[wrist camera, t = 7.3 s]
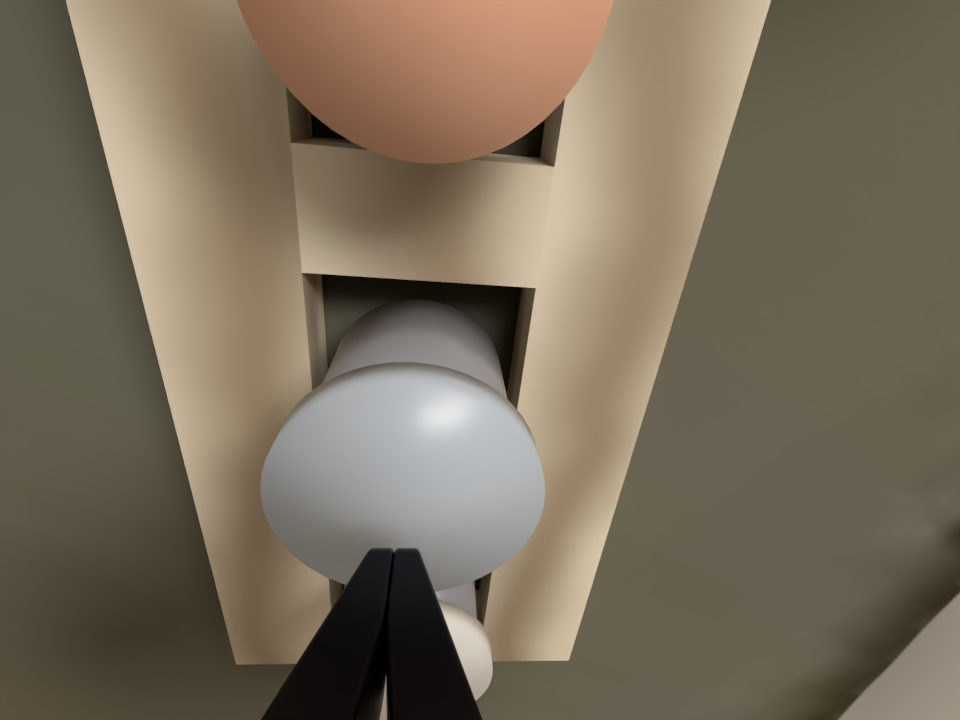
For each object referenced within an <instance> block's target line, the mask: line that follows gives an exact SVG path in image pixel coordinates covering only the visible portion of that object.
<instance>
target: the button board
mask: <svg viewBox="0 0 960 720" xmlns="http://www.w3.org/2000/svg"><path fill="white" fill-rule="evenodd" d="M770 2H771V0H614V2H613V6H612V9H611V12H610V15H609V18H608V21H607V24H606V26H605V29H604V32H603V35H602V37H601V39H600V41H599V43H598V45H597V48H596V50H595V52H594V54H593V56H592V58H591V60H590V62H589V64H588V65H587V67H586V68H585V70H584V72H583V73H582V75H581V77H580V78H579V80H578V82H577V83H576V84H575V86H574V87H573V88H572V90H571V91H570V92H569V93H568V95H567V96H566V97H565V99H564V100H563V101H562V102H561V104H560V105H559V106H558V107H557V108H556V109H555V110H554V111H553V112H552V113H551V114H550V115H549V116H548V117H547V118H546V119H545V124H544V131H543V139H542V146H541V153H540V158H537V157H526V156H516V155H505V154H494V153H490V154H487V155H485V156H481V157H477V158H474V159H470V160H466V161H461V162H452V163H444V164H429V163H415V162H409V161H402V160H397V159H394V158H390V157H387V156H384V155H380V154H377V153H374V152H372V151H370V150H368V149H366V148H363V147H361V146H359V145H357V144H354V143H353V142H351V141H349V140H344V139H334V138H323V137H312V124H311V112H310V111H309V110H308V109H307V108H306V107H305V106H304V105H303V104H302V103H301V102H300V101H299V100H298V99H297V98H296V97H295V96H293V94H292V93H291V92H290V91H289V89H288V88H287V87H286V86H285V85H284V83H283V82H282V81H281V80H280V78H279V77H278V76H277V75H276V73H275V72H274V70H273V69H272V67H271V66H270V64H269V63H268V61H267V60H266V58H265V57H264V55H263V54H262V52H261V51H260V49H259V47H258V45H257V44H256V42H255V40H254V38H253V36H252V34H251V32H250V30H249V28H248V26H247V24H246V22H245V20H244V18H243V15H242V13H241V10H240V8H239V5H238V3H237V0H66V3H67V7H68V11H69V15H70V19H71V23H72V27H73V31H74V35H75V38H76V42H77V46H78V50H79V54H80V58H81V62H82V66H83V70H84V74H85V77H86V81H87V85H88V89H89V93H90V97H91V101H92V105H93V109H94V113H95V116H96V120H97V124H98V128H99V132H100V136H101V140H102V144H103V148H104V152H105V155H106V159H107V163H108V167H109V171H110V175H111V179H112V183H113V187H114V191H115V194H116V198H117V202H118V206H119V210H120V214H121V218H122V222H123V226H124V230H125V233H126V237H127V241H128V245H129V249H130V253H131V257H132V261H133V265H134V269H135V272H136V276H137V280H138V284H139V288H140V292H141V296H142V300H143V304H144V308H145V311H146V315H147V319H148V323H149V327H150V331H151V335H152V339H153V343H154V347H155V350H156V354H157V358H158V362H159V366H160V370H161V374H162V378H163V382H164V386H165V389H166V393H167V397H168V401H169V405H170V409H171V413H172V417H173V421H174V425H175V428H176V432H177V436H178V440H179V444H180V448H181V452H182V456H183V460H184V464H185V467H186V471H187V475H188V479H189V483H190V487H191V491H192V495H193V499H194V503H195V506H196V510H197V514H198V518H199V522H200V526H201V530H202V534H203V538H204V542H205V545H206V549H207V553H208V557H209V561H210V565H211V569H212V573H213V577H214V581H215V584H216V588H217V592H218V596H219V600H220V604H221V608H222V612H223V616H224V620H225V623H226V627H227V631H228V635H229V639H230V643H231V647H232V651H233V655H234V659H235V662H236V665H250V664H297V662H298V660H299V659H300V657H301V656H302V654H303V652H304V651H305V649H306V648H307V646H308V645H309V643H310V641H311V640H312V638H313V637H314V635H315V634H316V632H317V630H318V629H319V627H320V626H321V624H322V623H323V621H324V619H325V618H326V616H327V615H328V613H329V612H330V610H331V608H332V607H333V605H334V604H335V602H336V600H337V599H338V597H339V596H340V594H341V593H342V591H343V588H342V583H339V582H337V581H334V580H332V579H330V578H327V577H325V576H323V575H321V574H320V573H318V572H316V571H314V570H312V569H311V568H309V567H308V566H306V565H305V564H303V563H302V562H301V561H299V560H298V559H297V558H296V557H295V556H294V555H292V554H291V553H290V552H289V551H288V550H287V549H286V548H285V547H284V545H283V544H282V543H281V542H280V541H279V540H278V538H277V537H276V535H275V534H274V532H273V530H272V529H271V527H270V525H269V523H268V521H267V518H266V516H265V514H264V510H263V506H262V502H261V492H260V483H261V474H262V470H263V467H264V463H265V460H266V457H267V455H268V453H269V451H270V449H271V447H272V445H273V443H274V441H275V439H276V437H277V435H278V433H279V431H280V429H281V427H282V425H283V423H284V421H285V419H286V418H287V416H288V415H289V414H290V412H291V411H292V410H293V408H294V407H295V406H296V405H297V404H298V403H299V402H300V401H301V400H302V399H303V398H304V397H305V396H306V395H307V394H308V393H310V392H311V391H313V390H314V389H315V388H317V387H318V386H319V385H321V384H322V383H323V381H324V379H325V376H326V374H327V372H328V363H327V348H326V333H325V318H324V303H323V288H322V274H329V275H344V276H359V277H374V278H389V279H405V280H420V281H435V282H450V283H465V284H481V285H496V286H511V287H522V289H521V296H520V303H519V311H518V318H517V325H516V332H515V339H514V346H513V354H512V361H511V368H510V375H509V382H508V389H507V400H509V401H510V402H511V403H512V404H513V406H514V407H515V408H516V409H517V410H518V411H519V413H520V414H521V415H522V416H523V418H524V420H525V421H526V423H527V425H528V426H529V428H530V430H531V433H532V435H533V438H534V440H535V444H536V447H537V451H538V455H539V459H540V463H541V467H542V471H543V475H544V480H545V499H544V507H543V510H542V514H541V517H540V520H539V522H538V524H537V526H536V528H535V530H534V532H533V534H532V535H531V536H530V538H529V539H528V541H527V542H526V544H525V545H524V546H523V547H522V548H521V549H520V550H519V551H518V552H517V553H516V554H515V555H514V556H513V557H512V558H511V559H509V560H508V561H507V562H506V563H504V564H503V565H502V566H500V567H499V568H497V569H496V570H494V571H492V572H491V573H489V574H487V575H485V576H483V577H481V583H480V590H475V596H476V612H477V620H478V621H479V622H480V623H481V624H482V625H483V626H484V628H485V629H486V631H487V633H488V636H489V638H490V644H491V656H492V661H562V660H569V658H570V655H571V651H572V648H573V645H574V642H575V638H576V635H577V632H578V629H579V625H580V622H581V619H582V616H583V612H584V609H585V606H586V602H587V599H588V596H589V593H590V589H591V586H592V583H593V580H594V576H595V573H596V570H597V567H598V563H599V560H600V557H601V554H602V550H603V547H604V544H605V541H606V537H607V534H608V531H609V527H610V524H611V521H612V518H613V514H614V511H615V508H616V505H617V501H618V498H619V495H620V492H621V488H622V485H623V482H624V479H625V475H626V472H627V469H628V465H629V462H630V459H631V456H632V452H633V449H634V446H635V443H636V439H637V436H638V433H639V430H640V426H641V423H642V420H643V417H644V413H645V410H646V407H647V404H648V400H649V397H650V394H651V390H652V387H653V384H654V381H655V377H656V374H657V371H658V368H659V364H660V361H661V358H662V355H663V351H664V348H665V345H666V342H667V338H668V335H669V332H670V328H671V325H672V322H673V319H674V315H675V312H676V309H677V306H678V302H679V299H680V296H681V293H682V289H683V286H684V283H685V280H686V276H687V273H688V270H689V267H690V263H691V260H692V257H693V253H694V250H695V247H696V244H697V240H698V237H699V234H700V231H701V227H702V224H703V221H704V218H705V214H706V211H707V208H708V205H709V201H710V198H711V195H712V192H713V188H714V185H715V182H716V178H717V175H718V172H719V169H720V165H721V162H722V159H723V156H724V152H725V149H726V146H727V143H728V139H729V136H730V133H731V130H732V126H733V123H734V120H735V116H736V113H737V110H738V107H739V103H740V100H741V97H742V94H743V90H744V87H745V84H746V81H747V77H748V74H749V71H750V68H751V64H752V61H753V58H754V55H755V51H756V48H757V45H758V41H759V38H760V35H761V32H762V28H763V25H764V22H765V19H766V15H767V12H768V9H769V6H770Z"/></svg>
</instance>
